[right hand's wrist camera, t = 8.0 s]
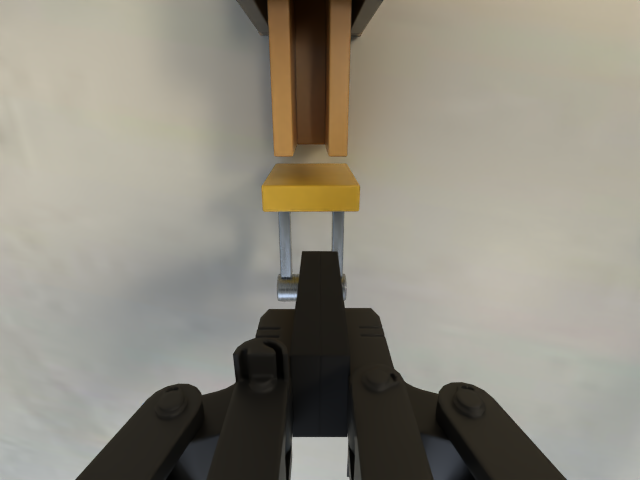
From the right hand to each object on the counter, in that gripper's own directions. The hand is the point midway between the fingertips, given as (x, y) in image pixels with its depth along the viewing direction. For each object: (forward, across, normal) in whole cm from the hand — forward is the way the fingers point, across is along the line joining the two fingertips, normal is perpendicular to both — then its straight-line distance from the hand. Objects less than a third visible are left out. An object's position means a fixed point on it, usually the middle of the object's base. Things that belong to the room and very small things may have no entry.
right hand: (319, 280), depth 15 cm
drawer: (+8, 0, +7) cm, 10 cm away
